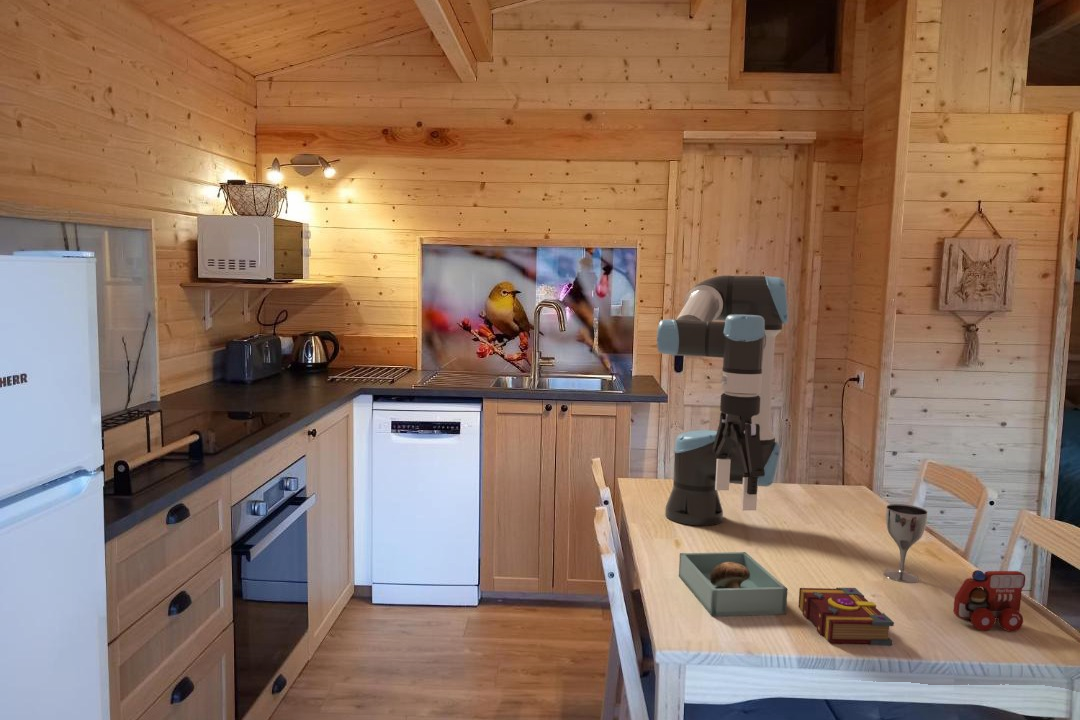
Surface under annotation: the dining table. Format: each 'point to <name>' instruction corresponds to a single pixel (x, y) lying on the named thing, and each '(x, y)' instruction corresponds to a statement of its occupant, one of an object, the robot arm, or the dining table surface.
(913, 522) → the wine glass
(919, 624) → the dining table surface
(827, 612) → the decorative book
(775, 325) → the robot arm
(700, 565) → the open rectangular box
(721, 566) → the mushroom
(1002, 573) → the toy fire truck
